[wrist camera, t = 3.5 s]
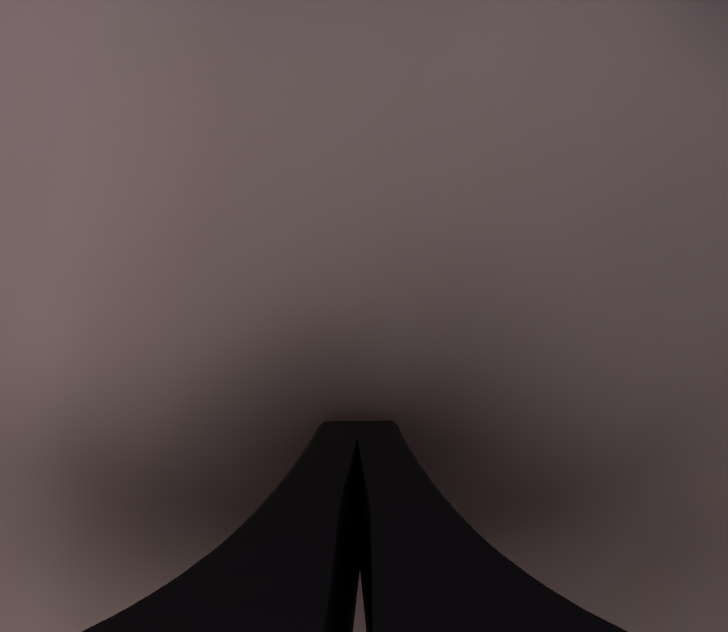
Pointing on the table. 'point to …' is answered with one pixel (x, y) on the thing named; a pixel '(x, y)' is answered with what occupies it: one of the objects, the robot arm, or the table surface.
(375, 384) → the table surface
